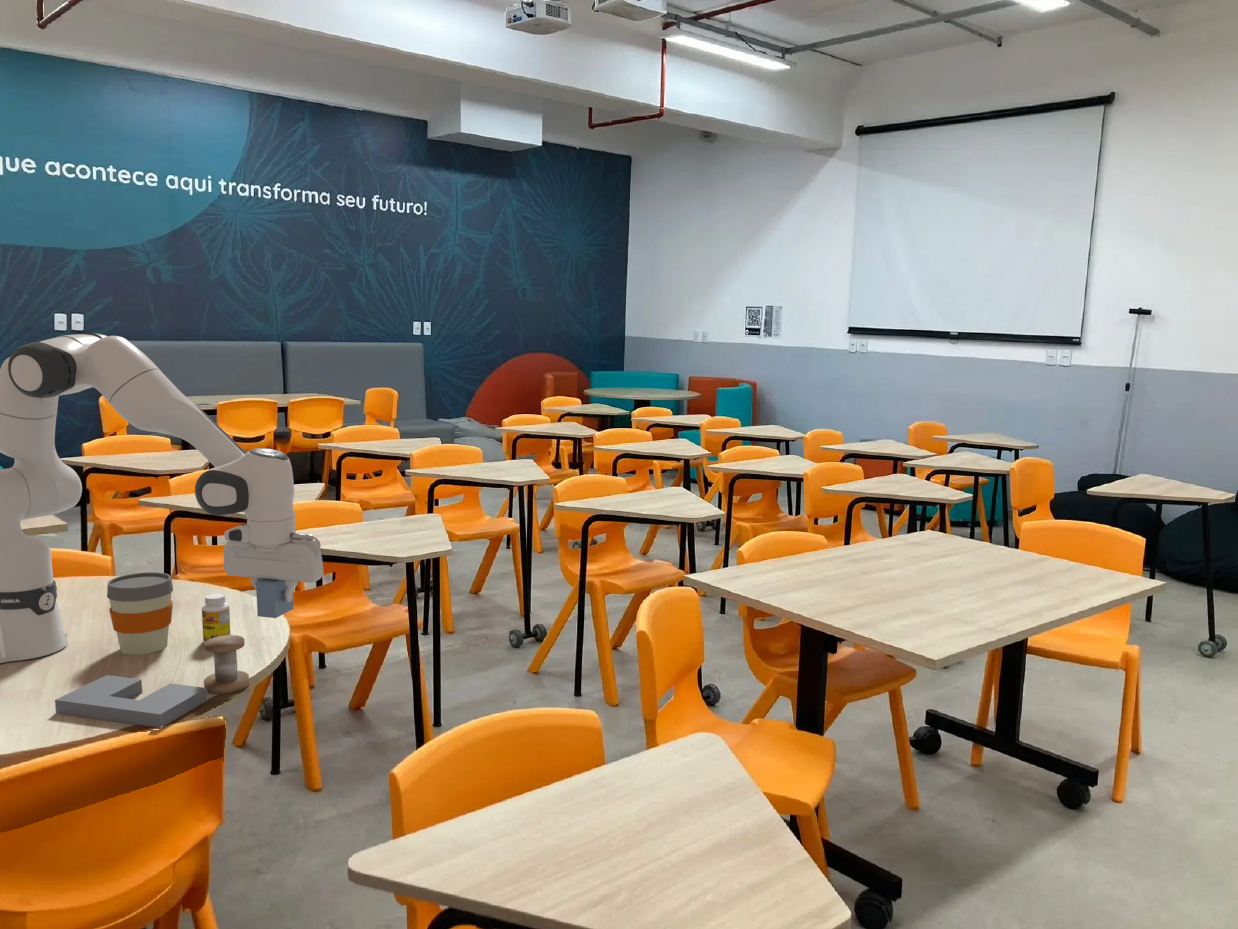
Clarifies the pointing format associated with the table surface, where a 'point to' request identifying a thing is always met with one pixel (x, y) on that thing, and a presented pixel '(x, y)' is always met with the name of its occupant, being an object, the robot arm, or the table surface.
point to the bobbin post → (225, 665)
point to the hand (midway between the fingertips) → (275, 599)
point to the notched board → (130, 701)
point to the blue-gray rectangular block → (271, 598)
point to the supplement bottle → (215, 617)
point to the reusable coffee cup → (141, 611)
